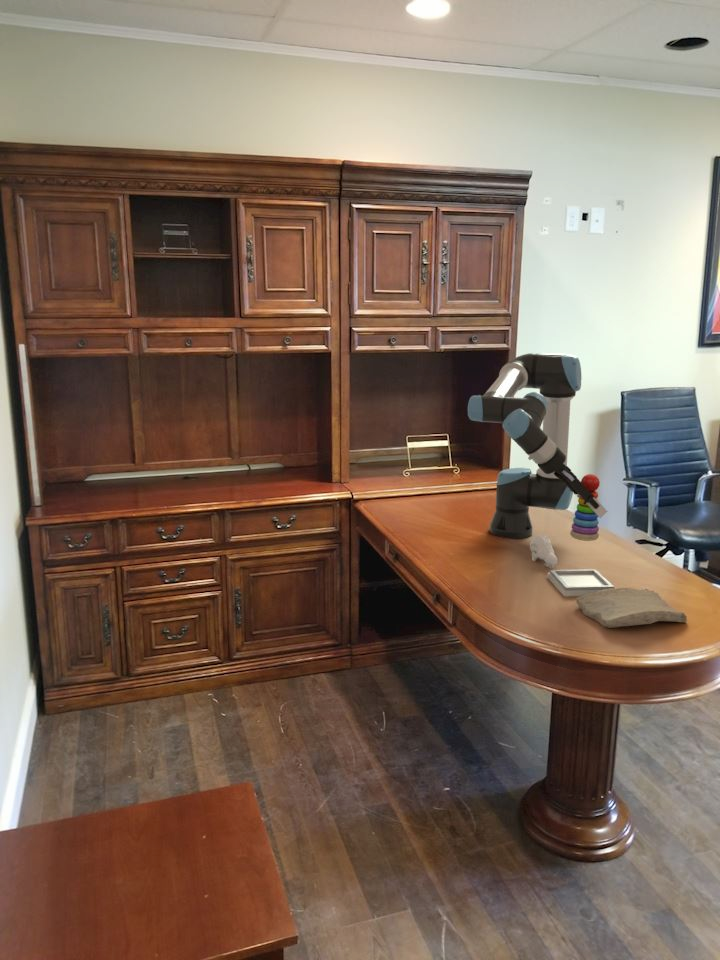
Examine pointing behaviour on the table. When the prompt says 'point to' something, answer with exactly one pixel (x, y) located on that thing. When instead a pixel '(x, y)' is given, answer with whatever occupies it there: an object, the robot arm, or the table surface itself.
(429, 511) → the table surface
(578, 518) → the stacking toy
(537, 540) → the lumpy white figurine
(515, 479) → the robot arm
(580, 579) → the tray
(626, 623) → the tablet
